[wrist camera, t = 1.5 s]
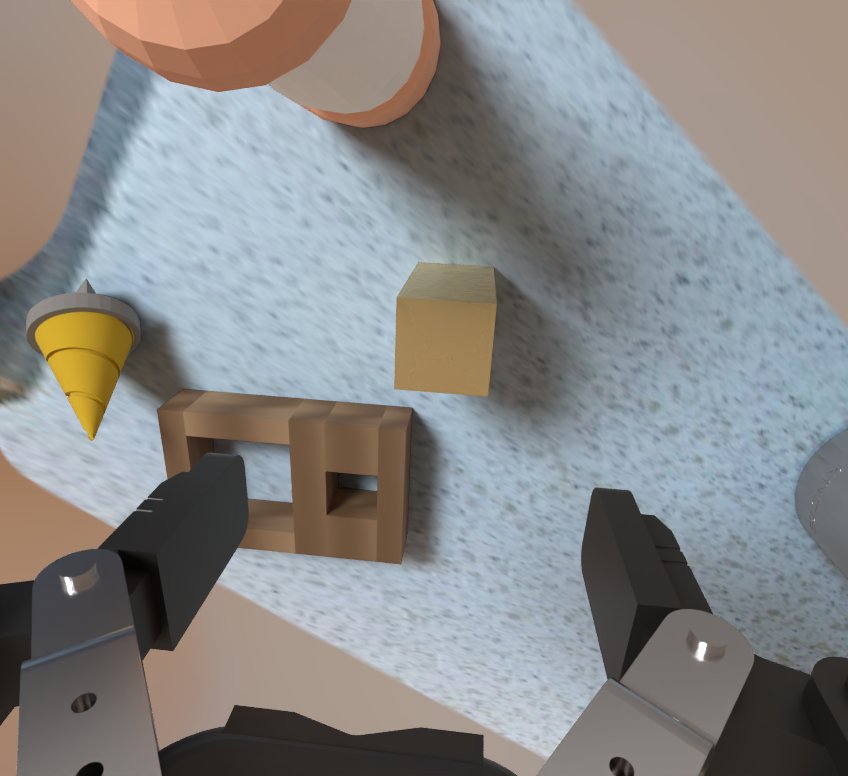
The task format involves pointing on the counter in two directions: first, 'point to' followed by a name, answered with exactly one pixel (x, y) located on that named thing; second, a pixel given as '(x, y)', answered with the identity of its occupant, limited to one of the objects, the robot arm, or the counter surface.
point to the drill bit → (84, 347)
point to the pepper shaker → (286, 49)
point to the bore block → (307, 468)
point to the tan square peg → (446, 329)
